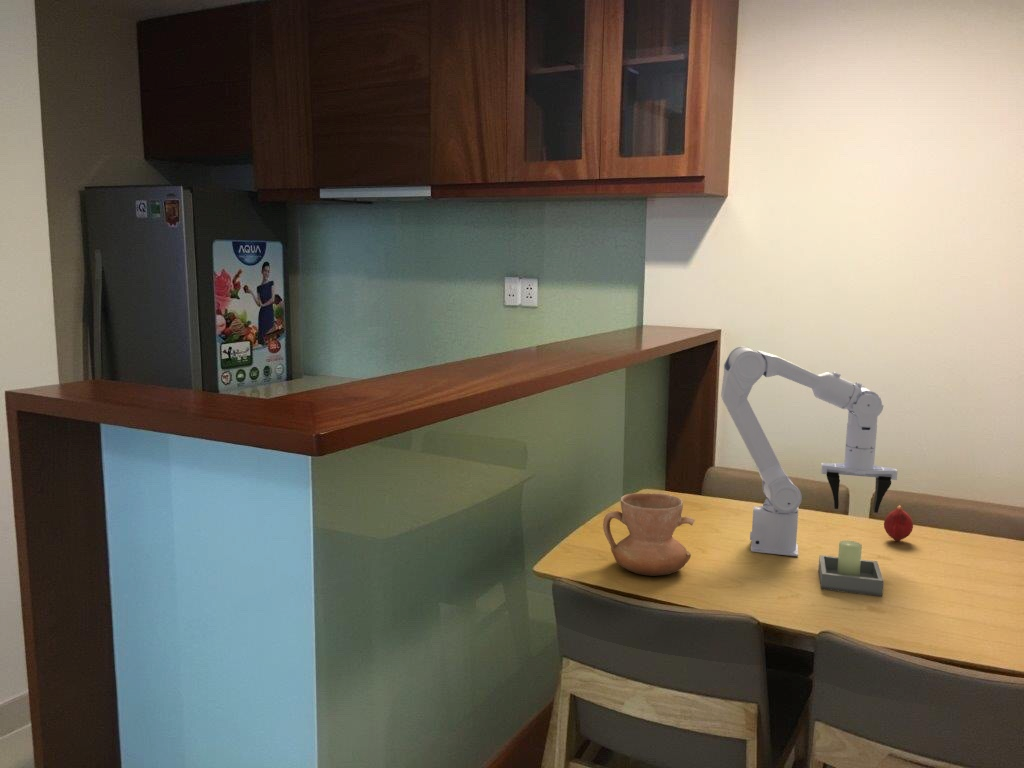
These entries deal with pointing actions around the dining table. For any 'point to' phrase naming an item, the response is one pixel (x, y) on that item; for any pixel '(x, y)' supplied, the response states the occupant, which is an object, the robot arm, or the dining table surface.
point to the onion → (898, 524)
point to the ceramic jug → (649, 534)
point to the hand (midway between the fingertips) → (855, 509)
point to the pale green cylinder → (849, 558)
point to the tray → (851, 577)
